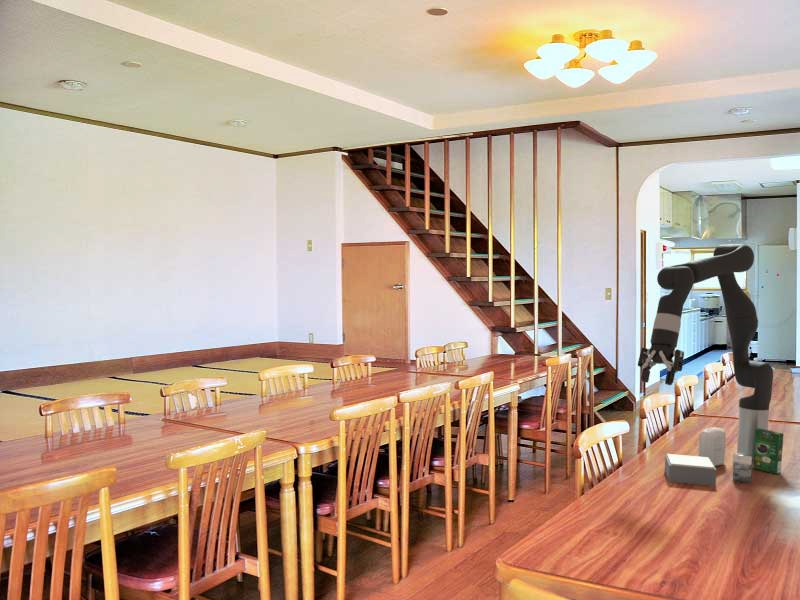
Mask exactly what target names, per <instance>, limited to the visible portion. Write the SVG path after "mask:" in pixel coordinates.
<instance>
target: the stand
mask: <svg viewBox="0 0 800 600" xmlns="http://www.w3.org/2000/svg"><path fill="white" fill-rule="evenodd" d="M664 456H665V457H664V472H666V473H665V475H667V476H666V479H667V480H668V483H675V482H676V483H675V484H685V483H687V485H696V484H697V486H706V485H711V486H710V487H717V486H716V485H717V468H716V466H714V465H713V463H712V462H711V460H710V459H709V458H708V457H699V455H698V456H697V455H688V454H687V455H685V454H674V453H666V454H665V455H664Z"/></svg>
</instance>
